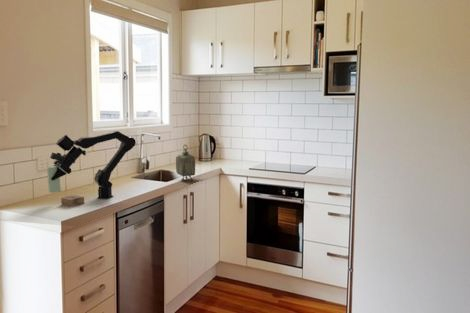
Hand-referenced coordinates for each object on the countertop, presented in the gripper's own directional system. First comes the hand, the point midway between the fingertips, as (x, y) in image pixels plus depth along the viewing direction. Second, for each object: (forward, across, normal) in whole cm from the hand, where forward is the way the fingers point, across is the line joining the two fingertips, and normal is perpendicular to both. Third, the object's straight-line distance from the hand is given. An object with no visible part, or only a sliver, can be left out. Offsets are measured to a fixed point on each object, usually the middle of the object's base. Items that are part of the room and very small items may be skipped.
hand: (50, 179), depth 207 cm
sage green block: (+4, 0, +6) cm, 7 cm away
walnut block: (+4, +6, +16) cm, 18 cm away
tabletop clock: (-52, -22, +73) cm, 93 cm away
